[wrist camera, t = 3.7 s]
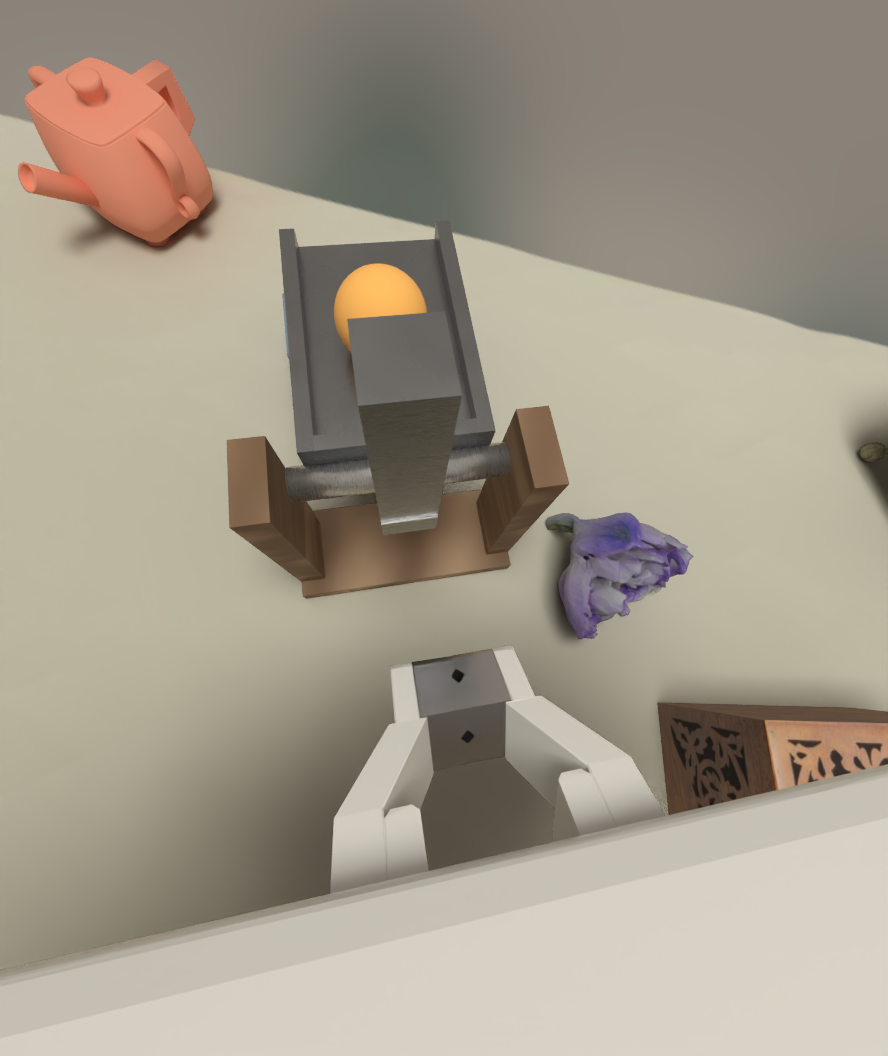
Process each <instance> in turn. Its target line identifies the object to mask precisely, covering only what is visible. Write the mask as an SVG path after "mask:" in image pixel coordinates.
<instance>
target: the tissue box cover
mask: <svg viewBox="0 0 888 1056" xmlns="http://www.w3.org/2000/svg"><path fill="white" fill-rule="evenodd" d="M657 704H658V714H659V723H660V733H661V743H662V753H663V763H664V773H665V782H666V792H667V802H668V812H669V815H672V814H676V813H680V812H685V811H689V810H693V809H698V808H702V807H706V806H711V805H715V804H719V803H724V802H728V801H732V800H737V799H741V798H745V797H750V796H754V795H758V794H762V793H767V792H771V791H775V790H780V789H784V788H788V787H793V786H797V785H801V784H805V783H810V782H814V781H818V780H823V779H827V778H831V777H835V776H840V775H844V774H848V773H853V772H857V771H861V770H865V769H870V768H874V767H878V766H883V765H887V764H888V712H885V711H875V710H865V709H856V708H835V707H799V706H763V705H727V704H691V703H657Z"/></svg>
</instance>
